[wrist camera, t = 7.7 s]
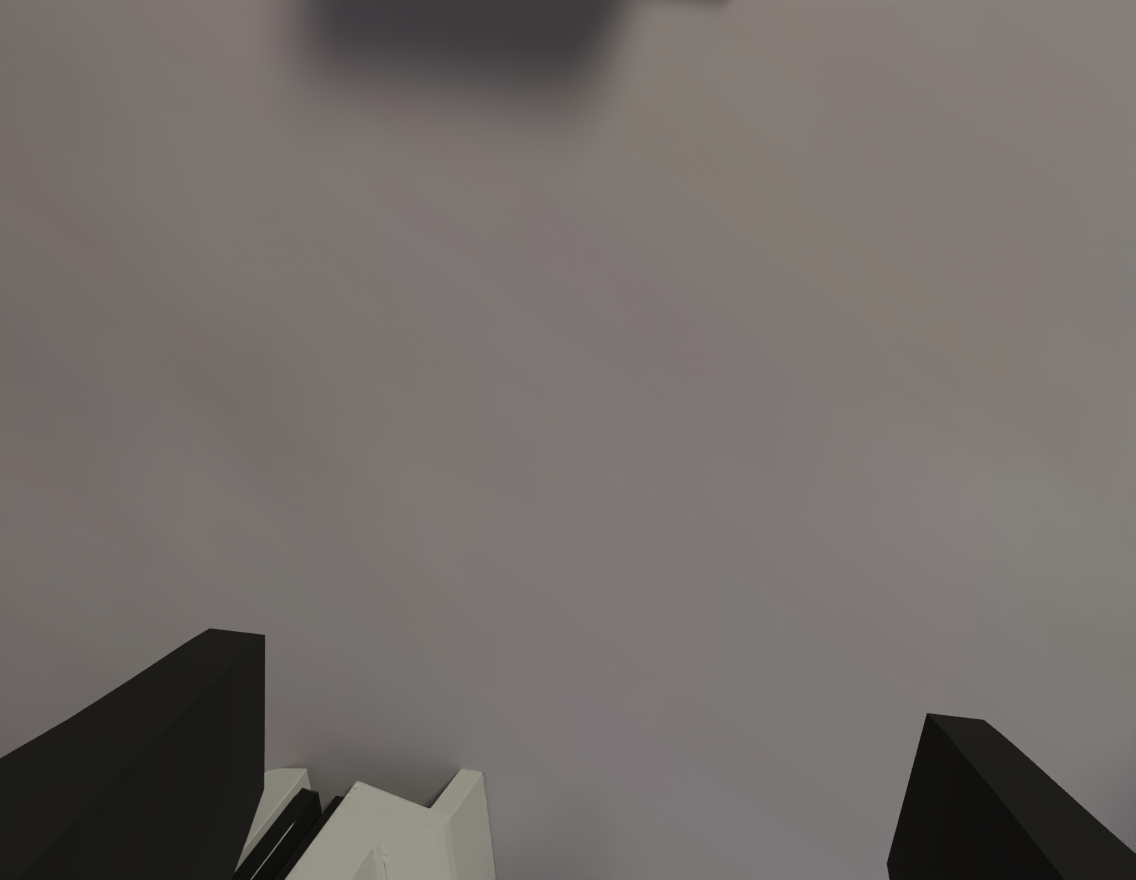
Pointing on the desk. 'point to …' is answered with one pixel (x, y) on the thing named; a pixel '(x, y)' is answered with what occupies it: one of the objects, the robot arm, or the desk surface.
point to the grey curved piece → (367, 833)
